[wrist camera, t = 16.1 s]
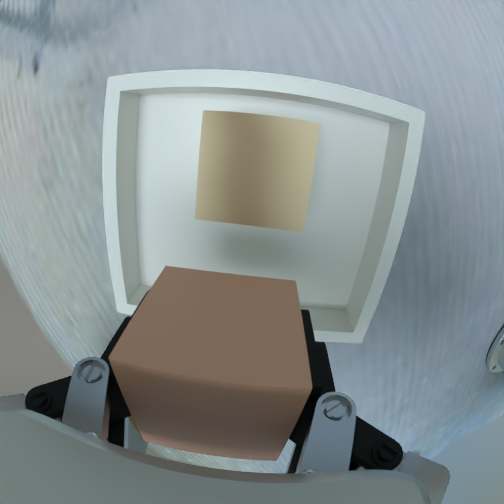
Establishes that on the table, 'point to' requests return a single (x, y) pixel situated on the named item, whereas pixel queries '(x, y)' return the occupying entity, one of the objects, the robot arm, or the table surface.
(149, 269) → the tray
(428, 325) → the table surface
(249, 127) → the maple block
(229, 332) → the terracotta block
